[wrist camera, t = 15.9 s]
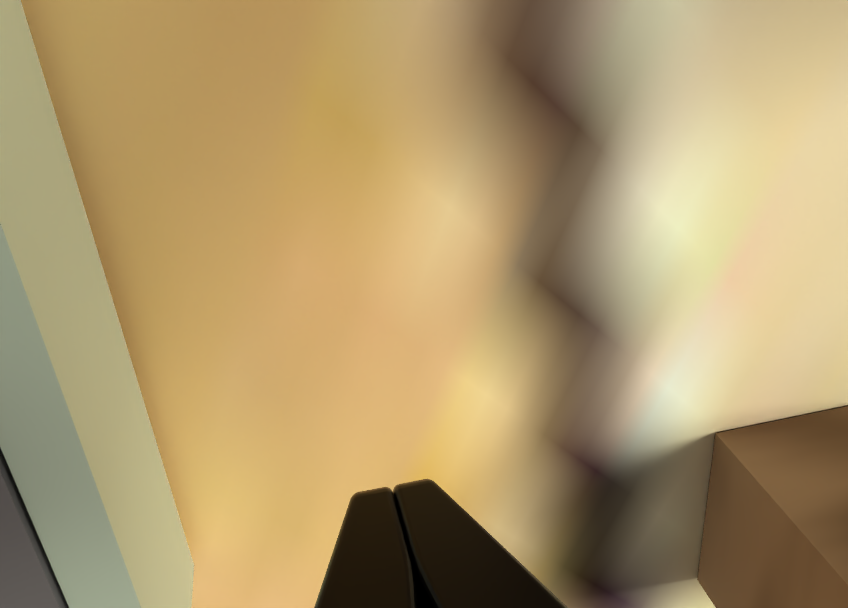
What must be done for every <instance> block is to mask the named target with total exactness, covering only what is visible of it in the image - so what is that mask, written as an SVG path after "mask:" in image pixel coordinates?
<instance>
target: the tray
mask: <svg viewBox="0 0 848 608" xmlns="http://www.w3.org/2000/svg"><path fill="white" fill-rule="evenodd" d="M0 448H1V450H2V452H3V455H4V457H5V459H6V462H7V464H8V466H9V469H10V471H11V473H12V476H13V478H14V480H15V483H16V485H17V487H18V490H19V492H20V494H21V497H22V499H23V501H24V504H25V506H26V508H27V511H28V513H29V515H30V518H31V520H32V522H33V525H34V527H35V529H36V532H37V534H38V536H39V539H40V541H41V543H42V545H43V548H44V550H45V552H46V555H47V557H48V559H49V562H50V564H51V566H52V569H53V571H54V573H55V576H56V578H57V580H58V583H59V585H60V587H61V590H62V592H63V594H64V597H65V599H66V601H67V604H68V606H69V608H191V607H192V591H193V575H194V563H193V560H192V556H191V553H190V550H189V547H188V543H187V540H186V537H185V534H184V530H183V527H182V524H181V521H180V517H179V514H178V511H177V508H176V504H175V501H174V498H173V495H172V491H171V488H170V485H169V482H168V478H167V475H166V472H165V469H164V465H163V462H162V459H161V456H160V452H159V449H158V446H157V443H156V439H155V436H154V433H153V429H152V426H151V423H150V420H149V416H148V413H147V410H146V407H145V403H144V400H143V397H142V394H141V390H140V387H139V384H138V381H137V377H136V374H135V371H134V368H133V364H132V361H131V358H130V355H129V351H128V348H127V345H126V342H125V338H124V335H123V332H122V329H121V325H120V322H119V319H118V316H117V312H116V309H115V306H114V302H113V299H112V296H111V293H110V289H109V286H108V283H107V280H106V276H105V273H104V270H103V267H102V263H101V260H100V257H99V254H98V250H97V247H96V244H95V241H94V237H93V234H92V231H91V228H90V224H89V221H88V218H87V215H86V211H85V208H84V205H83V202H82V198H81V195H80V192H79V189H78V185H77V182H76V179H75V175H74V172H73V169H72V166H71V162H70V159H69V156H68V153H67V149H66V146H65V143H64V140H63V136H62V133H61V130H60V127H59V123H58V120H57V117H56V114H55V110H54V107H53V104H52V101H51V97H50V94H49V91H48V88H47V84H46V81H45V78H44V75H43V71H42V68H41V65H40V62H39V58H38V55H37V52H36V48H35V45H34V42H33V39H32V35H31V32H30V29H29V26H28V22H27V19H26V16H25V13H24V9H23V6H22V3H21V0H0Z"/></svg>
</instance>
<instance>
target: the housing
mask: <svg viewBox="0 0 848 608" xmlns="http://www.w3.org/2000/svg"><path fill="white" fill-rule="evenodd" d="M0 608H69V606H68V604H67V601H66V599H65V597H64V594H63V592H62V590H61V587H60V585H59V583H58V580H57V578H56V576H55V573H54V571H53V569H52V566H51V564H50V562H49V559H48V557H47V555H46V552H45V550H44V548H43V545H42V543H41V541H40V539H39V536H38V534H37V532H36V529H35V527H34V525H33V522H32V520H31V518H30V515H29V513H28V511H27V508H26V506H25V504H24V501H23V499H22V497H21V494H20V492H19V490H18V487H17V485H16V483H15V480H14V478H13V476H12V473H11V471H10V469H9V466H8V464H7V462H6V459H5V457H4V455H3V452H2V450H1V448H0Z"/></svg>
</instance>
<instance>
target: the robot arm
mask: <svg viewBox="0 0 848 608" xmlns="http://www.w3.org/2000/svg"><path fill="white" fill-rule="evenodd" d="M314 608H567V607H566V606H565V605H564V604H563V603H562V602H561V601H560V600H559V599H558V598H557V597H556V596H555V595H554V594H553V593H552V592H551V591H549V590H548V589H547V588H546V587H545V586H544V585H543V584H542V583H541V582H540V581H539V580H538V579H537V578H536V577H535V576H534V575H532V574H531V573H530V572H529V571H528V570H527V569H526V568H525V567H524V566H523V565H522V564H521V563H520V562H519V561H518V560H517V559H516V558H514V557H513V556H512V555H511V554H510V553H509V552H508V551H507V550H506V549H505V548H504V547H503V546H502V545H501V544H500V543H499V542H497V541H496V540H495V539H494V538H493V537H492V536H491V535H490V534H489V533H488V532H487V531H486V530H485V529H484V528H483V527H482V526H481V525H479V524H478V523H477V522H476V521H475V520H474V519H473V518H472V517H471V516H470V515H469V514H468V513H467V512H466V511H465V510H464V509H463V508H461V507H460V506H459V505H458V504H457V503H456V502H455V501H454V500H453V499H452V498H451V497H450V496H449V495H448V494H447V493H446V492H444V491H443V490H442V489H441V488H440V487H439V486H438V485H437V484H436V483H435V482H434V481H432V480H429V479H423V480H418V481H413V482H408V483H403V484H399V485H396V486H395V487H394V490H393V492H392V490H391V489H390V488H388V487H382V488H377V489H372V490H367V491H362V492H357V493H355V494H354V495H353V496H352V498H351V500H350V502H349V505H348V508H347V511H346V514H345V517H344V520H343V523H342V526H341V529H340V532H339V535H338V538H337V541H336V544H335V547H334V550H333V553H332V556H331V559H330V562H329V565H328V568H327V571H326V574H325V577H324V580H323V583H322V586H321V589H320V592H319V595H318V598H317V601H316V604H315V607H314Z"/></svg>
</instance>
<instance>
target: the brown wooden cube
mask: <svg viewBox="0 0 848 608" xmlns="http://www.w3.org/2000/svg"><path fill="white" fill-rule="evenodd" d="M697 580H698V581H699V583H700V584H701V586H702V587H703V589H704V590H705V592H706V593H707V595H708V596H709V598H710V599H711V601H712V602H713V604H714V605H715V607H716V608H848V406H846V407H841V408H836V409H831V410H826V411H821V412H817V413H812V414H807V415H802V416H797V417H792V418H787V419H783V420H778V421H773V422H768V423H763V424H758V425H754V426H749V427H744V428H739V429H734V430H729V431H725V432H720V433H716V434H715V442H714V450H713V458H712V466H711V474H710V482H709V490H708V498H707V506H706V514H705V523H704V531H703V539H702V547H701V555H700V563H699V571H698V579H697Z"/></svg>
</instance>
